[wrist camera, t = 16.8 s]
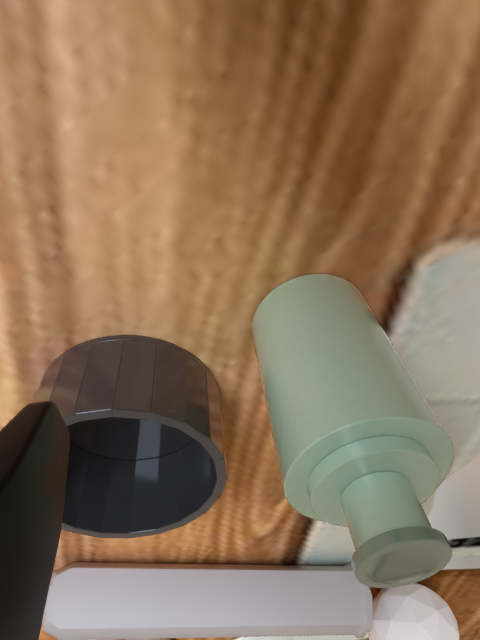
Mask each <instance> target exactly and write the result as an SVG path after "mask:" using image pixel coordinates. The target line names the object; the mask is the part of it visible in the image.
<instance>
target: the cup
mask: <svg viewBox="0 0 480 640" xmlns="http://www.w3.org/2000/svg"><path fill="white" fill-rule="evenodd" d="M41 401H53V402H54V403H55V404H56V405H57V407H58V409H59V412H60V414H61V416H62V418H63V420H64V422H65V424H66V426H67V428H68V431H69V435H70V448H69V458H68V469H67V480H66V491H65V501H64V512H63V520H62V527H61V529H64V530H66V531H69V532H72V533H77V534H83V535H88V536H93V537H100V538H135V537H142V536H149V535H156V534H160V533H163V532H166V531H169V530H172V529H175V528H178V527H181V526H184V525H186V524H188V523H189V522H191V521H193V520H195V519H196V518H198V517H200V516H201V515H203V514H205V512H207V511H208V510H209V509H210V508H211V507H212V506H213V504H214V503H215V502H216V501H217V500H218V499H219V498H220V496H221V494H222V492H223V489H224V486H225V483H226V480H227V477H228V476H227V466H226V455H225V444H224V433H223V422H222V411H221V403H220V395H219V390H218V386H217V383H216V381H215V379H214V377H213V375H212V374H211V372H210V371H209V369H208V368H207V367H206V366H205V365H204V364H203V363H202V362H201V361H200V360H199V359H198V358H196V357H195V356H194V355H193V354H191V353H189V352H188V351H186V350H185V349H183V348H181V347H179V346H176V345H174V344H172V343H169V342H166V341H163V340H160V339H155V338H151V337H145V336H137V335H116V336H107V337H101V338H96V339H93V340H90V341H86V342H84V343H81V344H79V345H77V346H74V347H73V348H71V349H69V350H67V351H66V352H64V353H63V354H62V355H60V356H59V357H58V358H57V359H55V360H54V362H53V363H52V364H51V365H50V366H49V367H48V369H47V370H46V372H45V373H44V375H43V377H42V380H41V382H40V384H39V386H38V389H37V391H36V393H35V396H34V399H33V401H32V403H34V402H41Z"/></svg>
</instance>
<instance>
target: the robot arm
mask: <svg viewBox="0 0 480 640" xmlns="http://www.w3.org/2000/svg"><path fill="white" fill-rule="evenodd" d="M69 448H70V435H69V431H68V428H67V426H66V424H65V422H64V420H63V418H62V416H61V414H60V412H59V409H58V407H57V405H56V404H55V403H54V402H53V401H41V402H34V403H30V404H28V405H26V406H25V407H24V408H23V409H22V410H21V411H20V412H19V413H18V414H17V415H16V416H15V417H14V418H13V419H12V420H11V421H10V422H9V423H8V424H7V425H6V426H5V427H4V428H3V429H2V430H1V431H0V640H38V639H39V634H40V629H41V625H42V620H43V615H44V610H45V605H46V601H47V596H48V591H49V586H50V581H51V577H52V572H53V567H54V562H55V557H56V553H57V548H58V543H59V538H60V533H61V527H62V520H63V512H64V501H65V491H66V480H67V469H68V458H69Z"/></svg>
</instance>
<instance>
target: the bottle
mask: <svg viewBox="0 0 480 640" xmlns="http://www.w3.org/2000/svg"><path fill="white" fill-rule="evenodd" d="M252 337H253V342H254V347H255V352H256V357H257V362H258V367H259V372H260V377H261V381H262V386H263V391H264V396H265V401H266V406H267V411H268V416H269V421H270V425H271V430H272V435H273V440H274V445H275V450H276V455H277V460H278V464H279V469H280V474H281V479H282V484H283V489H284V493H285V496H286V499H287V500H288V502H289V503H290V505H291V506H292V507H293V508H294V509H295V510H296V511H298V512H299V513H301V514H303V515H305V516H307V517H309V518H312V519H315V520H319V521H323V522H328V523H331V524H334V525H338V526H345V527H349V530H350V534H351V537H352V540H353V543H354V546H355V549H356V551H355V552H354V554H353V556H352V560H351V564H352V568H353V571H354V574H355V577H356V579H357V580H358V581H359V582H360V583H362V584H363V585H366V586H369V587H374V588H393V587H400V586H405V585H409V584H413V583H416V582H419V581H421V580H424V579H426V578H428V577H430V576H432V575H434V574H436V573H437V572H439V571H440V570H441V569H443V568H444V567H445V566H446V565H447V564H448V562H449V561H450V559H451V557H452V549H451V547H450V545H449V543H448V540H447V538H446V537H445V535H444V534H443V533H441V532H440V531H439V530H436V529H433V528H432V527H431V525H430V523H429V521H428V519H427V516H426V514H425V512H424V510H423V508H422V506H421V504H422V503H424V502H425V501H426V500H427V499H428V498H429V497H430V495H431V494H432V493H433V492H434V490H435V488H436V487H437V486H438V485H439V484H440V483H441V482H442V481H443V480H444V478H445V477H446V475H447V474H448V472H449V470H450V468H451V466H452V463H453V458H454V449H453V444H452V442H451V440H450V438H449V436H448V434H447V433H446V431H445V429H444V428H443V426H442V424H441V423H440V421H439V419H438V418H437V416H436V415H435V413H434V411H433V410H432V408H431V406H430V405H429V403H428V401H427V400H426V398H425V397H424V395H423V393H422V392H421V390H420V388H419V387H418V385H417V383H416V382H415V380H414V379H413V377H412V375H411V374H410V372H409V370H408V369H407V367H406V365H405V364H404V362H403V361H402V359H401V357H400V356H399V354H398V352H397V351H396V349H395V347H394V346H393V344H392V343H391V341H390V339H389V338H388V336H387V334H386V333H385V331H384V329H383V328H382V326H381V324H380V323H379V321H378V320H377V318H376V316H375V315H374V313H373V311H372V310H371V308H370V306H369V305H368V303H367V302H366V300H365V298H364V297H363V295H362V294H361V292H360V291H359V290H358V289H357V288H356V287H355V286H354V285H353V284H352V283H350V282H349V281H347V280H345V279H343V278H340V277H337V276H334V275H329V274H309V275H303V276H299V277H296V278H293V279H291V280H288V281H286V282H284V283H283V284H281V285H279V286H278V287H276V288H275V289H273V290H272V291H271V292H270V293H269V294H268V295H267V296H266V297H265V298H264V299H263V300H262V302H261V303H260V305H259V306H258V308H257V310H256V312H255V314H254V318H253V321H252Z"/></svg>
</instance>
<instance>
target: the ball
mask: <svg viewBox="0 0 480 640" xmlns="http://www.w3.org/2000/svg"><path fill="white" fill-rule="evenodd" d="M369 640H459V632H458V624H457V620H456V619H455V617H454V615H453V613H452V611H451V609H450V607H449V605H448V604H447V603H446V602H445V601H444V600H443V599H442V598H441V597H440V596H439V595H438V594H437V593H436V592H434V591H432V590H431V589H429V588H427V587H426V586H423V585H421V584H418V583H413V584H409V585H405V586H400V587H393V588H382V589H381V590H380V592H379V593H378V594H377V596H376V597H375V599H374V600H373V628H372V629H371V630H370V631H369Z"/></svg>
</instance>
